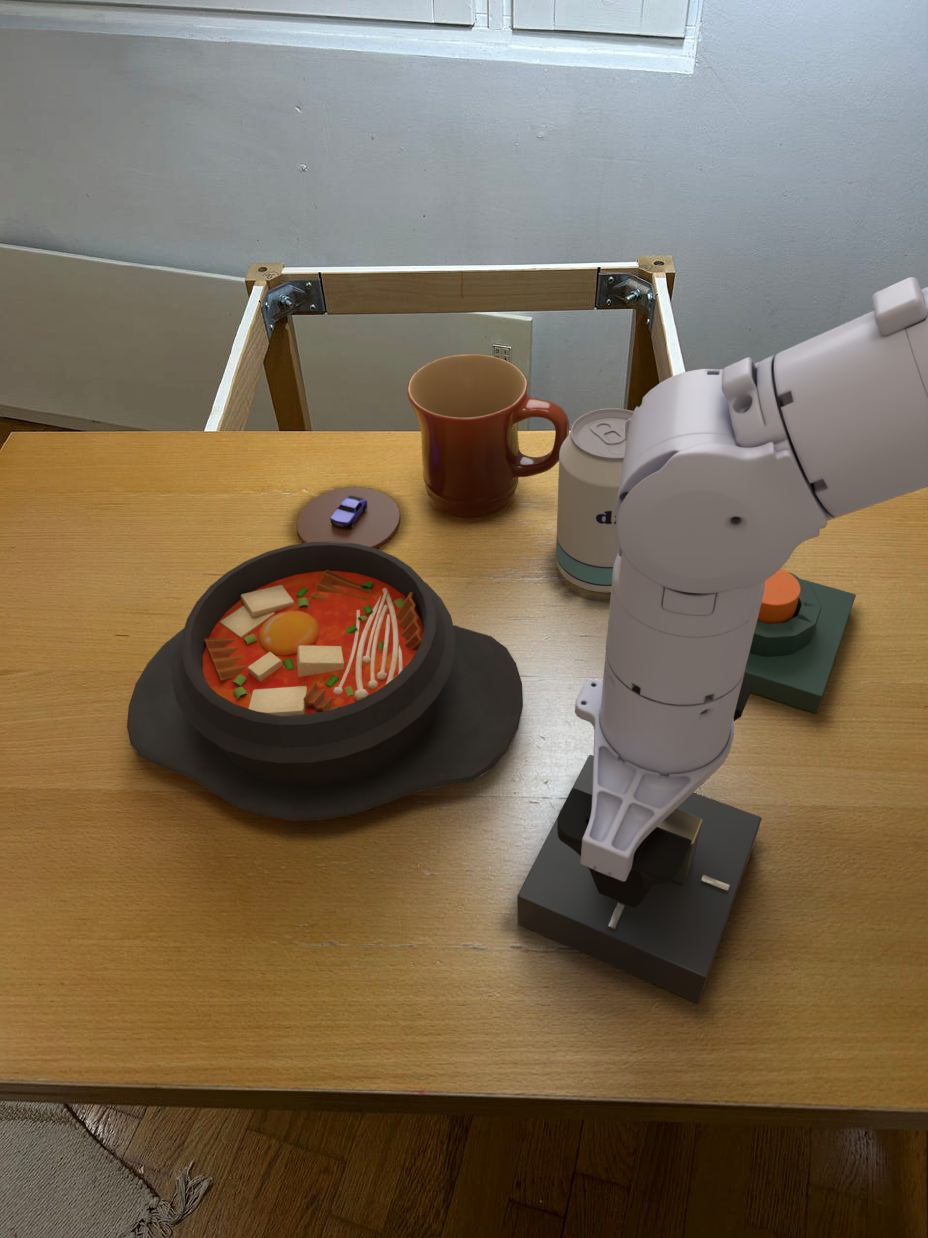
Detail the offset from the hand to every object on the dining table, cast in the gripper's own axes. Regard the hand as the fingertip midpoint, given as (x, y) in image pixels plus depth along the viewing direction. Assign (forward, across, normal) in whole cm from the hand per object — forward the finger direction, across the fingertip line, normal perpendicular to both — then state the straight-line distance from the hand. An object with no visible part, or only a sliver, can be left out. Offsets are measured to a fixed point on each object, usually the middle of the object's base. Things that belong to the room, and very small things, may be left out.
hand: (645, 833), depth 50 cm
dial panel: (+5, 0, 0) cm, 5 cm away
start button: (+2, -21, +1) cm, 21 cm away
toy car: (+5, -20, -31) cm, 37 cm away
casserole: (+5, -3, -22) cm, 23 cm away
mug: (+5, -27, -22) cm, 35 cm away
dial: (+2, 0, 0) cm, 2 cm away
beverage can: (+5, -23, -11) cm, 26 cm away
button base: (+5, -21, +1) cm, 22 cm away
